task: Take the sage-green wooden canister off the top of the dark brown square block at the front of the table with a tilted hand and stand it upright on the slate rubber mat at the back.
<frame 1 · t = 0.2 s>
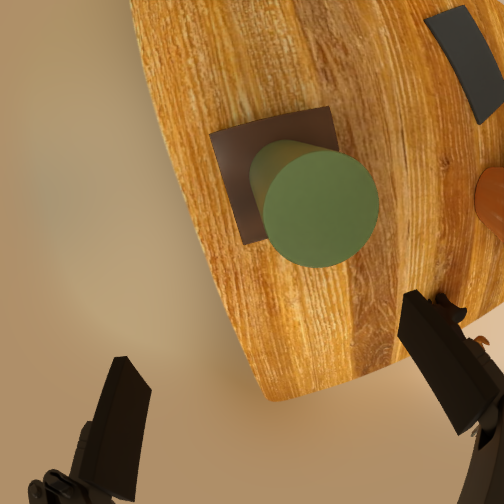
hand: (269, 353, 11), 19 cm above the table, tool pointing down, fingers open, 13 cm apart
slate mat: (473, 60, 20), on the table
flower pot: (488, 193, 29), on the table
figurine: (429, 304, 37), on the table
dark brown square block: (276, 167, 26), on the table, touching green canister
green canister: (286, 175, 22), point 5 cm above the table, touching dark brown square block
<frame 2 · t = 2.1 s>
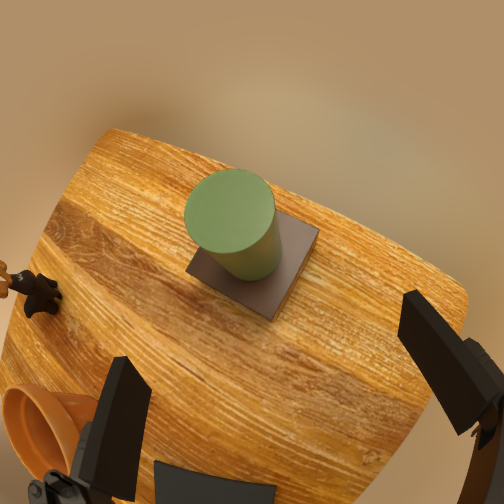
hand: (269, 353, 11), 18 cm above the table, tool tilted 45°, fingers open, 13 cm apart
flower pot: (93, 422, 29), on the table
figurine: (56, 297, 35), on the table
dark brown square block: (257, 262, 32), on the table, touching green canister
green canister: (251, 250, 27), point 5 cm above the table, touching dark brown square block
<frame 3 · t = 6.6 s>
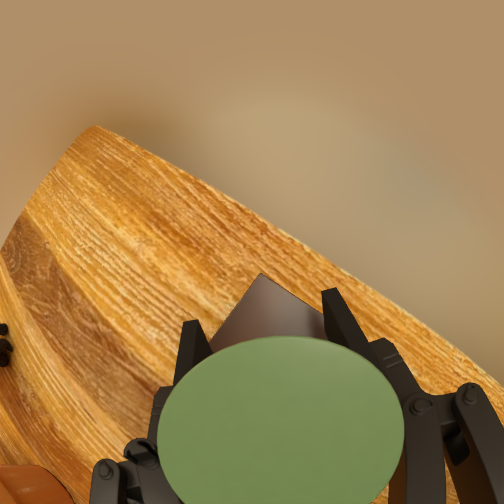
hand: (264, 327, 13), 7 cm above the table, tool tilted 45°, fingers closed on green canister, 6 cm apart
flower pot: (53, 493, 15), on the table
figurine: (7, 344, 22), on the table
dark brown square block: (279, 377, 19), on the table, touching green canister
green canister: (280, 388, 14), point 5 cm above the table, touching gripper, dark brown square block
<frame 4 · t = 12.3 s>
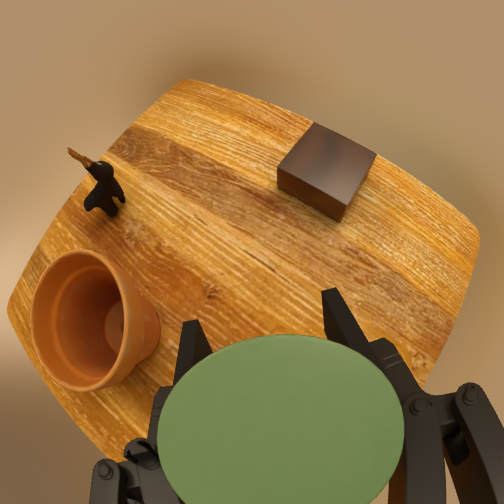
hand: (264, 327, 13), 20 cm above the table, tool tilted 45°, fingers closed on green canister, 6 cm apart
flower pot: (132, 329, 33), on the table
figurine: (115, 203, 40), on the table
dark brown square block: (325, 179, 38), on the table
green canister: (280, 388, 14), point 17 cm above the table, touching gripper
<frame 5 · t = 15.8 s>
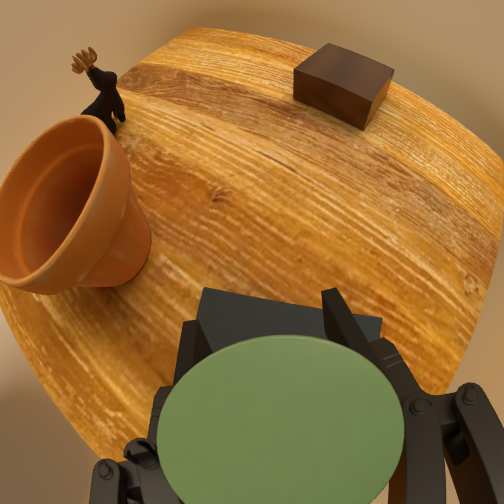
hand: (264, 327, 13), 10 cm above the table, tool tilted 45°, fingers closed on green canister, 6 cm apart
slate mat: (280, 372, 21), on the table
flower pot: (116, 248, 27), on the table
figurine: (114, 125, 34), on the table
dark brown square block: (343, 95, 31), on the table
green canister: (280, 388, 14), point 8 cm above the table, touching gripper
when the fingers open (3 cm above the table, at t = 18.1 s): green canister stays where it is, resting on slate mat.
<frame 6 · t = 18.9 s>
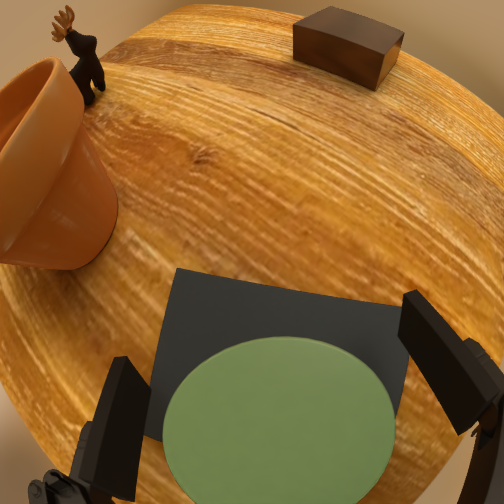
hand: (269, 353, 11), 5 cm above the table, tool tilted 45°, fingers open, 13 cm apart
slate mat: (279, 385, 15), on the table
flower pot: (80, 224, 21), on the table
figurine: (93, 96, 27), on the table
dark brown square block: (349, 58, 25), on the table
green canister: (279, 387, 15), point 1 cm above the table, touching slate mat
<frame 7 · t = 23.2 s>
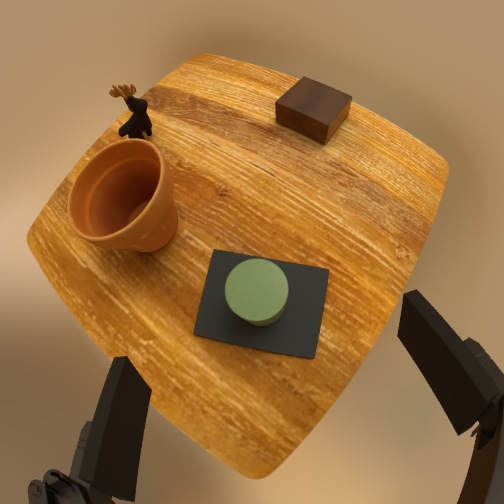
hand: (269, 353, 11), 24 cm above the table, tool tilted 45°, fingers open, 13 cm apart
slate mat: (262, 303, 36), on the table
flower pot: (152, 226, 41), on the table
figurine: (142, 138, 47), on the table
dark brown square block: (313, 117, 45), on the table
green canister: (261, 303, 35), point 1 cm above the table, touching slate mat
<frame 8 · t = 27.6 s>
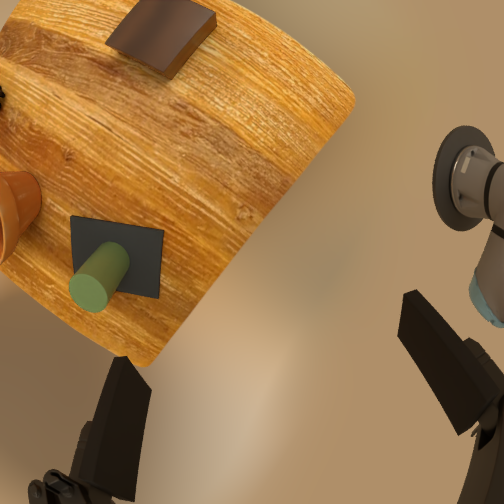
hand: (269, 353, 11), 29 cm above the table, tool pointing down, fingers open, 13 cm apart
slate mat: (114, 257, 40), on the table
flower pot: (25, 196, 33), on the table
dark brown square block: (165, 36, 26), on the table
green canister: (112, 259, 39), point 1 cm above the table, touching slate mat
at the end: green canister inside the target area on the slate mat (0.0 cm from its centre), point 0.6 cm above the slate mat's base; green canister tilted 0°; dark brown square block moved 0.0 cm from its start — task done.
